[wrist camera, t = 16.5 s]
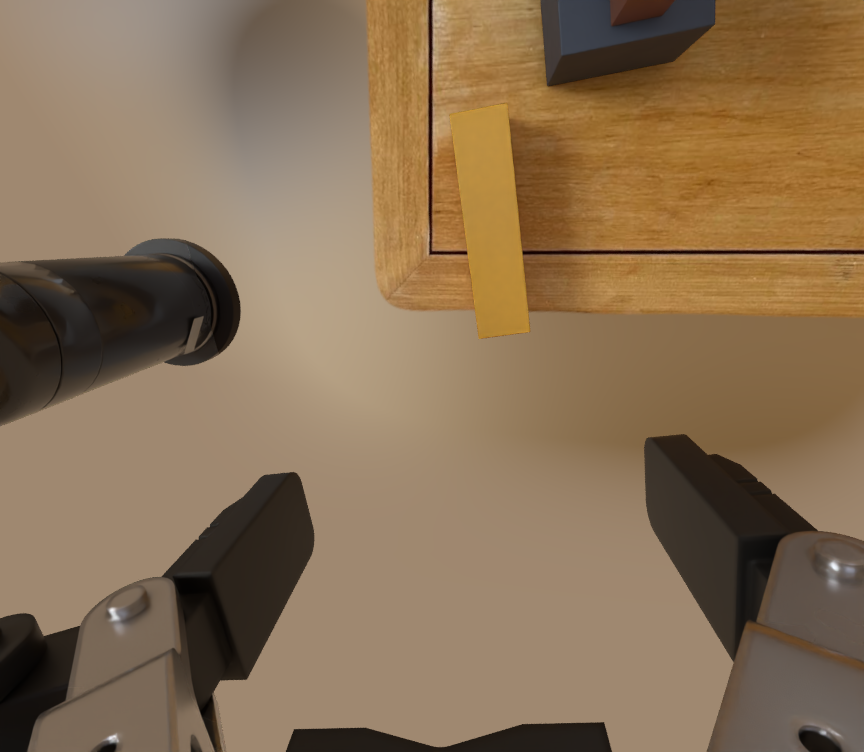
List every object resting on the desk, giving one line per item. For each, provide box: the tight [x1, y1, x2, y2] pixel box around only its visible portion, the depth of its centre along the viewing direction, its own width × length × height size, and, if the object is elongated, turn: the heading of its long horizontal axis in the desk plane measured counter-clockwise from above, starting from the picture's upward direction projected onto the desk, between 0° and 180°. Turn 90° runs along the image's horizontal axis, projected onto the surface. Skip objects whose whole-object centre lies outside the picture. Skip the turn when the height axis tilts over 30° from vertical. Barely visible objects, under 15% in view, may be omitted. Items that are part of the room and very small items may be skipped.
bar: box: [450, 103, 530, 339], centre depth 36 cm, size 4×16×4 cm, turn 9°
